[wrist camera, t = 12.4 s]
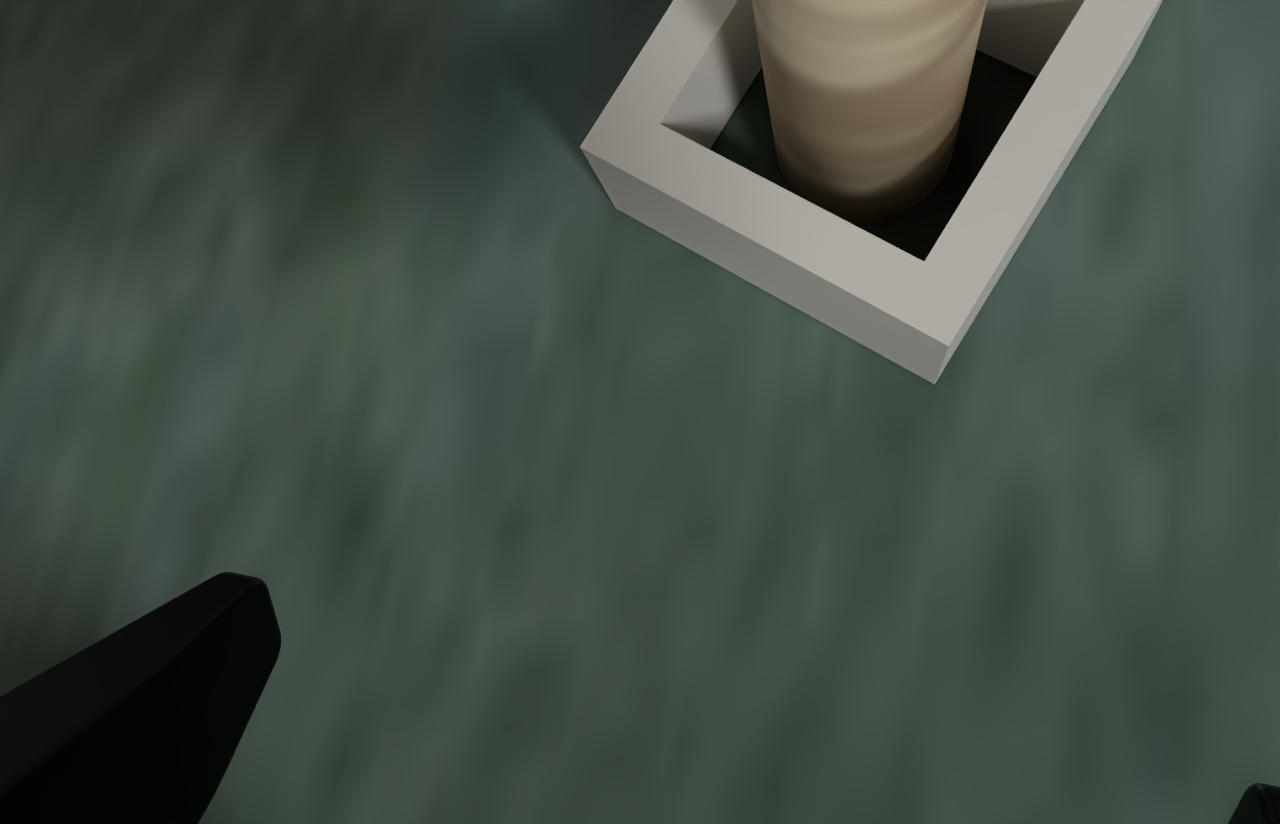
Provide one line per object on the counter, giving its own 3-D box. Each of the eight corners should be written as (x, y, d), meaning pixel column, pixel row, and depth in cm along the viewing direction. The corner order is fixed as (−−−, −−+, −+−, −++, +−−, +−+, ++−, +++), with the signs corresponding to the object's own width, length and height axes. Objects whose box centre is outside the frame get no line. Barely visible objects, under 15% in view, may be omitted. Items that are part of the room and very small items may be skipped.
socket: (934, 384, 23) (948, 346, 20) (615, 208, 25) (579, 146, 22) (1131, 62, 24) (1177, -29, 20) (801, -85, 26) (794, -189, 23)
